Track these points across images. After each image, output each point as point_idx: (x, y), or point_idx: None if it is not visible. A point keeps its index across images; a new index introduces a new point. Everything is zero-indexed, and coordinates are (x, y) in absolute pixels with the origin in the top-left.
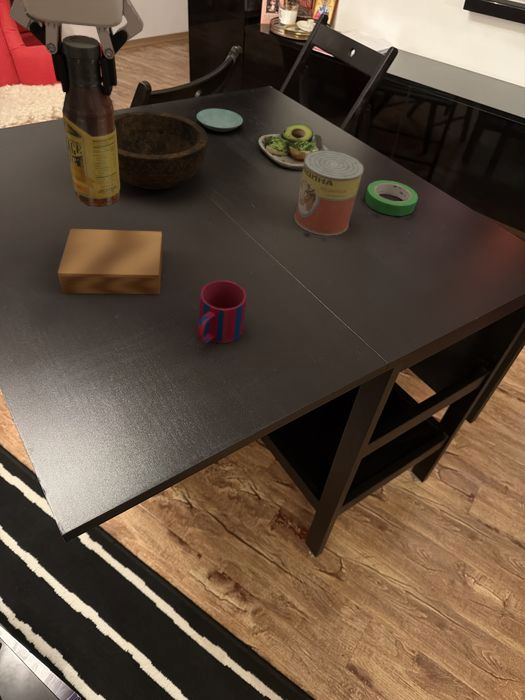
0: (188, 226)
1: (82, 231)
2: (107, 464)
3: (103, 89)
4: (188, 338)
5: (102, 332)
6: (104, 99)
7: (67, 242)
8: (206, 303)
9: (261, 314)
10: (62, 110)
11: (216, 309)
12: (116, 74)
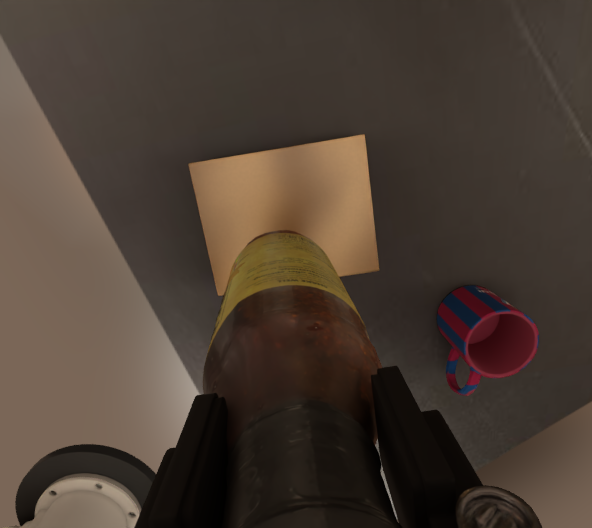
0: (397, 31)
1: (213, 168)
2: None
3: (385, 476)
4: (422, 340)
5: None
6: (374, 443)
7: (200, 210)
8: (474, 369)
9: (530, 276)
10: None
11: (489, 377)
12: (447, 427)
